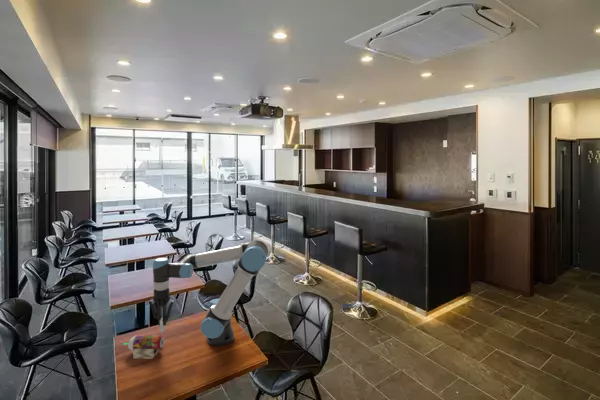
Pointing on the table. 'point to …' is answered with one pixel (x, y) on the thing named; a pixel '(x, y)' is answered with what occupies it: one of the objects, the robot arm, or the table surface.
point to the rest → (144, 353)
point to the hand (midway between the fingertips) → (162, 330)
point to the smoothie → (146, 342)
